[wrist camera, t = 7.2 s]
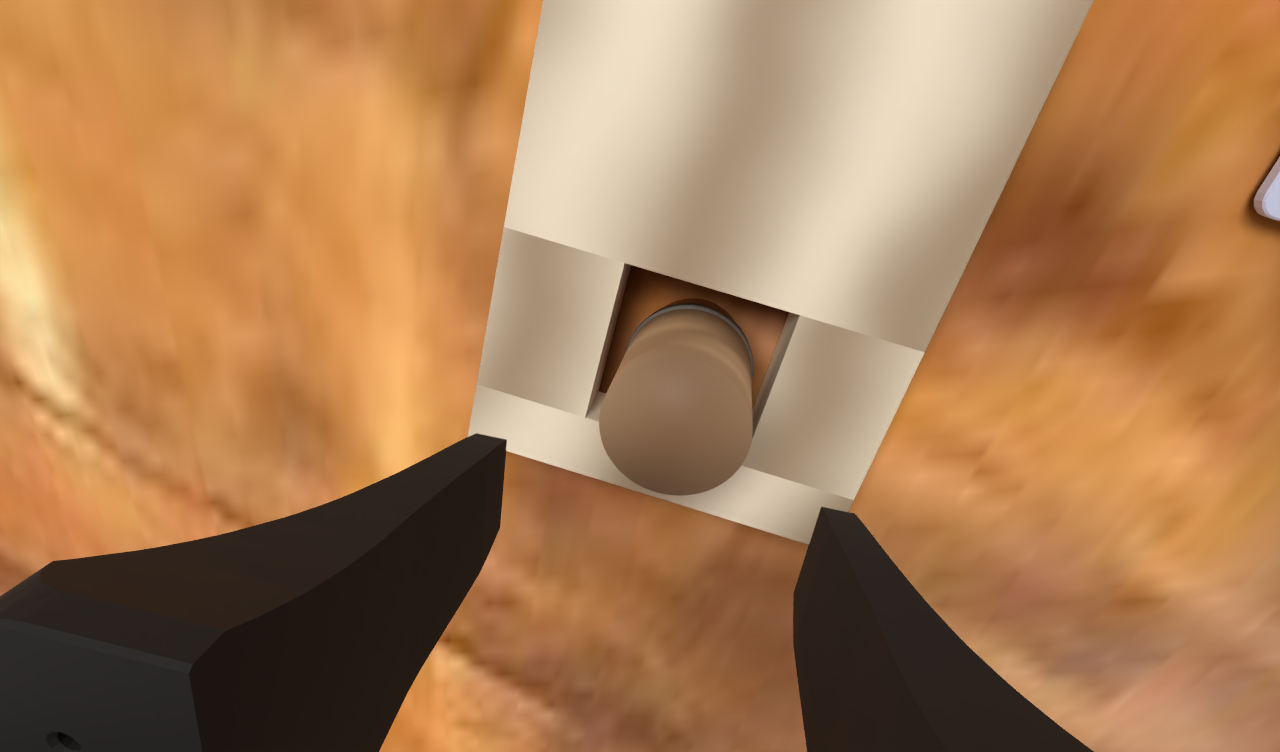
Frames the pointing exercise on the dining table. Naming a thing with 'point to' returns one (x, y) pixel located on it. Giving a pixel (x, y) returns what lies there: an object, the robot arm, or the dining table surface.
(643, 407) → the peg
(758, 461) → the board
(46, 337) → the dining table surface
